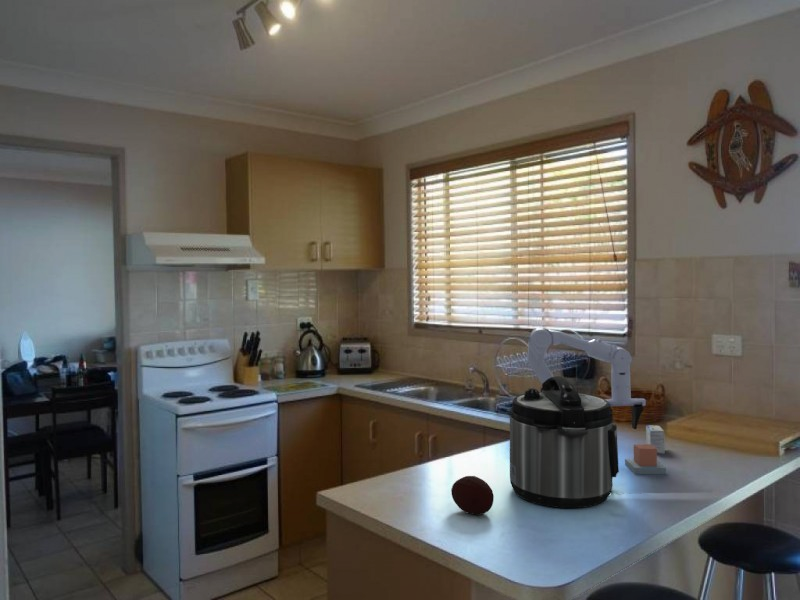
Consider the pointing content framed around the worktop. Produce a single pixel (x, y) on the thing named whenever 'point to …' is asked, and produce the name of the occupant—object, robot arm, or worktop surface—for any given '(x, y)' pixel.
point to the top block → (645, 468)
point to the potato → (472, 495)
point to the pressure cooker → (562, 446)
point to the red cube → (645, 455)
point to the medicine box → (655, 437)
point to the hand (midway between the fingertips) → (622, 428)
